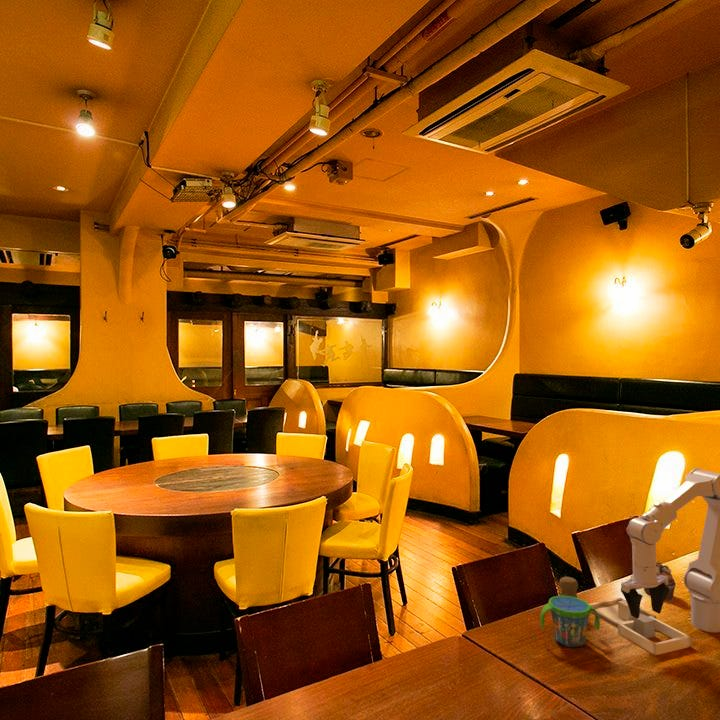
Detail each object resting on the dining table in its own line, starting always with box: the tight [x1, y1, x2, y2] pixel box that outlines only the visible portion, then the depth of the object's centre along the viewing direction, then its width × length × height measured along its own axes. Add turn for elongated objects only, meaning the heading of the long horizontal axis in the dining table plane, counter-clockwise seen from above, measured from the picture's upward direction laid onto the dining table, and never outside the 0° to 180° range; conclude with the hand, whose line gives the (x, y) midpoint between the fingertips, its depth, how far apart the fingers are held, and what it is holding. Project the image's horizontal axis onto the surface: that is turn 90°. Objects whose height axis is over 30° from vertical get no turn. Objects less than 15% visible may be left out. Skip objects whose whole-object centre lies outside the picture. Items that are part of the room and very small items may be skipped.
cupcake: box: [643, 561, 677, 602], centre depth 170 cm, size 10×10×10 cm
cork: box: [558, 576, 579, 598], centre depth 157 cm, size 6×6×11 cm
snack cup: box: [539, 595, 601, 648], centre depth 143 cm, size 16×10×10 cm
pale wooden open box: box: [617, 616, 692, 656], centre depth 141 cm, size 12×12×4 cm
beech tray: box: [588, 597, 657, 629], centre depth 156 cm, size 14×13×2 cm
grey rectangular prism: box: [633, 614, 656, 639], centre depth 144 cm, size 4×4×4 cm
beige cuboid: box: [618, 599, 633, 621], centre depth 153 cm, size 4×4×4 cm
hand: (645, 614), depth 143 cm, fingers open, 7 cm apart
